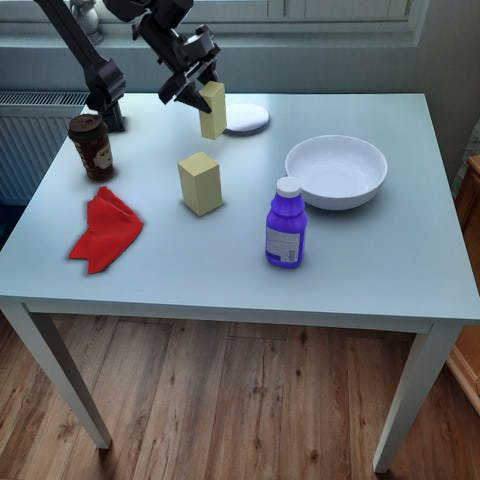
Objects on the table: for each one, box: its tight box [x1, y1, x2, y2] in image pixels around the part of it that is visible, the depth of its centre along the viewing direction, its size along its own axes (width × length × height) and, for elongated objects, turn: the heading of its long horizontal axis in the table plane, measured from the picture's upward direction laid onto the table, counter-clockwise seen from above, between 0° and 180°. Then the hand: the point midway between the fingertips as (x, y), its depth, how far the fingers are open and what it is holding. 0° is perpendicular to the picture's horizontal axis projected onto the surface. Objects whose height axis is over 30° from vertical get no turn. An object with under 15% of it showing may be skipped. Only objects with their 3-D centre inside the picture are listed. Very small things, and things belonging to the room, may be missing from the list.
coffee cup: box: [67, 112, 116, 183], centre depth 103 cm, size 9×8×13 cm
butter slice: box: [198, 81, 227, 141], centre depth 104 cm, size 4×6×10 cm, turn 154°
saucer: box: [222, 102, 270, 138], centre depth 119 cm, size 13×13×2 cm
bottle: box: [264, 176, 308, 269], centre depth 83 cm, size 7×6×17 cm
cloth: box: [67, 185, 144, 275], centre depth 96 cm, size 26×14×2 cm, turn 177°
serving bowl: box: [284, 134, 389, 211], centre depth 99 cm, size 21×21×7 cm
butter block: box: [176, 150, 224, 217], centre depth 97 cm, size 6×6×10 cm
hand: (217, 105), depth 102 cm, fingers closed on butter slice, 6 cm apart
